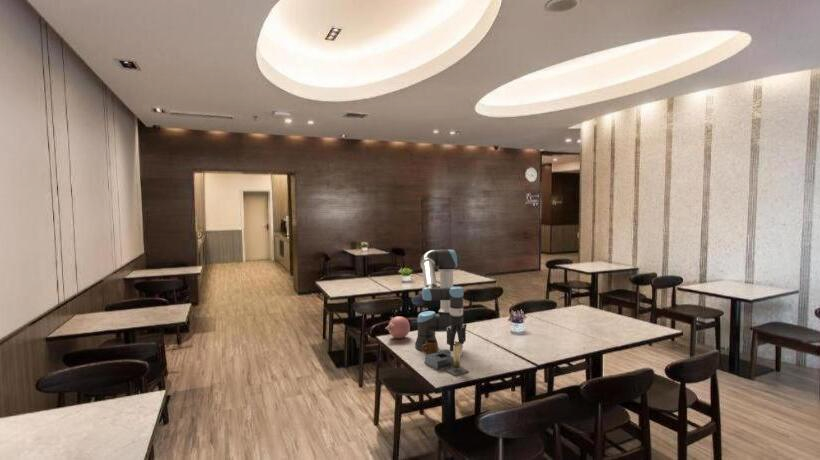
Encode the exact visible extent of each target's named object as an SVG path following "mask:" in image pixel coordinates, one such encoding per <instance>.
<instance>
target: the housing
mask: <svg viewBox="0 0 820 460" xmlns="http://www.w3.org/2000/svg"><path fill="white" fill-rule="evenodd" d="M424 364H425V365H426V366H429V367H430V368H433V370H436V371H439V370H444V369H445V368H449V367H452V356H451V351H450V350H447V349H444V350H441V351H437V352H436V353H432V354H428V355H424Z"/></svg>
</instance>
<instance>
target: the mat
mask: <svg viewBox="0 0 820 460" xmlns="http://www.w3.org/2000/svg"><path fill="white" fill-rule="evenodd" d="M443 371H444V372H446V373H448V374H450V375H451V376H454V377H458V376H461V375H465V374H468V373H469V372H470V371H469V370H467V369H466V368H464V367H462V366H460V368H458V369H455V368H453V367H452V366H451V367H447V368H444V369H443Z"/></svg>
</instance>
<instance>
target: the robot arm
mask: <svg viewBox="0 0 820 460" xmlns="http://www.w3.org/2000/svg"><path fill="white" fill-rule="evenodd" d="M419 262H420V263H419V264H420V268H421V269H422V275H423V283H424V287H422V290H421V295H422V296H421V297H422V300H423V301H427V302H428V301H429V302H430V301H440V308H439V310H438V313H436V311H433V310H428V311H427V310H425V311H422V312H420V313H419V314H418V315H417V337H416V341H415V342H414V347H415V349H416V350H418V351H421V352H423V351H422V345H423V344H425V342H426V340H436V341H437V344H438V345H439V343H438V340H437V337H436V333H442V332H443V333H444V332H446V344H447V345H448V346H449V352H451V356H452V357H455V345H454V341H455V340H456V339H455V338H456V335H457V339H458V342H460V356H462V353H463V351H462V350H463V348H464V346H463V345H464V344H465V342H466V338H467V337H466V335H467V332H466V331H467V326H468V325H467V324H466V323H464V294H465V293H464V288H463V287H462V286H454V271H456V268H457V267H458V266H459V265H458V257H457V253H456V250H454V249H430V250H428V251H426V252H425V253H424V254H423V255H422V256H421V258H420V261H419ZM435 268H437V270H438V272H439V277H440V279H439V280H440V281H439V283H440V284H439V285H440V287H438V281H437V276H436V271H435ZM424 349H425V347H424Z"/></svg>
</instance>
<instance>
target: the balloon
mask: <svg viewBox="0 0 820 460" xmlns="http://www.w3.org/2000/svg"><path fill="white" fill-rule="evenodd" d="M384 329H385V330H387V331H388V333H389V334H390V335H391V337H393V338H395V339H399V340H400V339H403V338H405V337H406V336H408V334H409V332H410V330H411V325H410V322H409V320H408V319H407V318H406V317H404V316H400V315H399V316H395V317H392V319H390V321H389V322H388V325H387V326H386V327H385V328H384Z"/></svg>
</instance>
